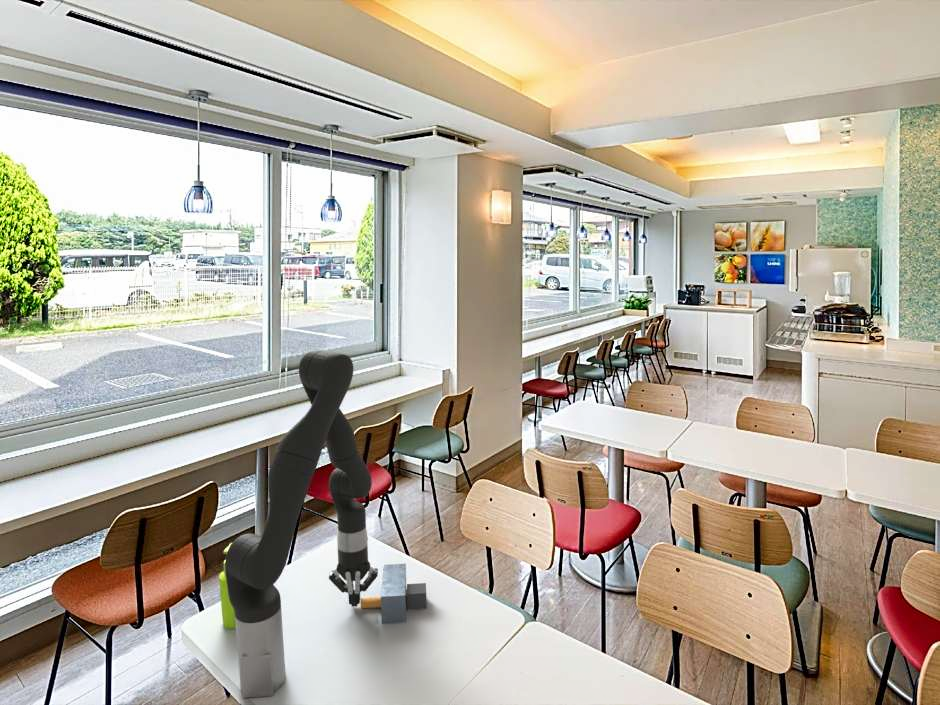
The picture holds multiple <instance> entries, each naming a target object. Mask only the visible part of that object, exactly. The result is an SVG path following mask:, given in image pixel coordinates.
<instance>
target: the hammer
mask: <svg viewBox="0 0 940 705" xmlns="http://www.w3.org/2000/svg"><path fill="white" fill-rule="evenodd" d="M371 608H372V609H373V608H381V596H379V597H378V596H377V597H365V598H364V597H363V598H362V597H360V609H371ZM413 609H414V610H425V609H428V607H427V583H425V582H422V583H421V582H420V583H406V611H410V610H411V611H412V610H413Z"/></svg>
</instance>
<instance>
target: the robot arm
mask: <svg viewBox="0 0 940 705" xmlns="http://www.w3.org/2000/svg"><path fill="white" fill-rule="evenodd" d="M298 374H299V376H298V377H299V379H300V383H301V385H302V387H303V390H304V392H305V393H306V396H307V398H308V400H309V402H310V405H311V406H310V407H309V409H308V411H307V412H306V413H305V414H304V416H303V417H302V418H301V419H300V420H299V421H297V422H296V423H295V424H294V425H293V426H292V427H291V428H290V429H289V430H288V431H287V432H286V434H285V435H283V437H282V438H281V440H280V441H279V443H278V445H277V447H276V450H275V452H274V455H273V458H272V461H271V463H270V465H269V468H268V474H267V475H268V476H267V491H268V505H269V506H268V516H267V520H266V524H265V527H264V530H263V532H262V536H261V535H258V534H255V533H245V534H242V535H240V536H238V537H237V538H235V540H233V543H232V542H231V543H232V544H231V543H230V544H231V546H230V547H229V549H228V552H227V555H226V554H225V559H224V560H225V573H226V581H227V588H228V595H229V600H230V603H231V605H232V607H233V608H234V613H235V623H236V628H235V635H236V637H235V638H236V647H237V648H236V649H237V658H238V670H239V673H238V674H239V682H240V685H239V686H240V690H241V692H242V698H243V699H244V698H259V697H272V696H273V695H274V694H275V692H276V691H277V690H279V688H280V687H281V686H282V685H283V684H284V683H285V681H286V676H287V675H286V674H287V673H286V661H285V660H286V658H285V647H284V645H285V644H284V633H283V632H284V631H283V630H284V628H283V615H282V601H281V600H282V599H281V593H280V591H279V590H278V588H277V587H276V586H275V583H276V582H277V581H278V579H279V578H280V577H281V575H282V573H283V572H284V569H285V566H286V565H287V564H286V563H287V561H288V558H289V554H290V551H291V546H292V542H293V539H294V534H295V532H296V531H295V530H296V526H297V522H298V519H299V516H300V513H301V510H302V508H303V505H304V501H305V498H306V496H307V494H308V493H307V492H308V489H309V487H310V486H311V482H312V479H313V477H314V474H315V472H316V469H317V467H318V464H319V461H320V457H321V453H322V450H323V448H324V445H325V446H326V450H327V453H328V458H329V461H330V464H331V465H332V466H333V467H334V468H335V469H334V470H333V471H332V472H331V474H330V476H329V480H328V488H329V489H328V490H329V494H330V497H331V501H332V502H333V506H334V508H335V511H336V513H337V517H336V518H337V534H336V536H337V537H336V538H337V540H336V541H337V562H338V563H337V565H336V569H333V570H331V571H330V572H329V574H328V580H329V581H330V582H331V583H332V584H333V585H334V586H335V587H336V588H337V589H338V590H339V591H340V592H341V593H344V594H345V593H347V594H348V604H349V605H351V608H355V607H358V606H359V605H360V604H361V592H366V591H367V590H368V589H369V587H370V586H371V585H372V584H373V582H374V581H375V580H376V578H377V577H378V574H379V568H377V567H372V566H371V563H370V561H369V549H368V548H369V546H368V545H369V544H368V540H369V537H368V530H367V523H366V522H367V521H366V520H367V518H366V508H365V505H363V504H362V503H361V502H359V501H357V500H362V499H364V498H365V497H368V495H369V493H370V492H371V491H372V490H371V489H372V485H373V482H372V481H373V480H372V475H371V473H370V470H369V468H368V467H367V465H366V463H365V461H364V459H363V458H362V455H361V454H360V452H359V448H358V444H357V440H356V436H355V432H354V429H353V428H352V425H351V423H350V421H349V420H348V419H347V417H346V416H345V415H344V413H343V411H342V410H341V408H340V407H341V406H342V403H343V401H344V399H345V397H346V395H347V393H348V391H349V388H350V385H351V384H352V380H353V375H354V363H353V360H352V358H351V357H350V356H349V355H348V354H344V353H341V352H335V351H330V350H323V349H322V350H321V349H312V350H309V351H307V352H305V353H304V354H303V355H302V358H301V359H300V361H299V363H298ZM356 499H357V500H356ZM367 574H368V575H367ZM366 575H367V577H366ZM340 576H341V577H340ZM365 577H366V578H365ZM364 578H365V580H364V581H363V582H362V581H361V580H363V579H364ZM354 582H355V583H354ZM361 582H362V583H361Z"/></svg>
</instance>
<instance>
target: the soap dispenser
mask: <svg viewBox="0 0 940 705" xmlns="http://www.w3.org/2000/svg"><path fill="white" fill-rule="evenodd" d="M233 542H234V541H233ZM233 542H230V543H229V545H228V546H227V547H225V549H224V550H223V552H222V554H225V556H226V555H227V552H228V549H229V547H230V546H231V544H232V543H233ZM225 560H226V559H224V560H223V571H222V572H220V574H219V575H218V580H219V594H220V605H221V616H222V617H221V618H222V626H223V625H224V626H223V627H224V628H225V627H226V629H232V628H234V629H236V623H235V613H234V608H233V607H232V605H231V603H230V600H229V595H228V588H227V581H226V573H225ZM232 630H233V629H232Z"/></svg>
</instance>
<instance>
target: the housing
mask: <svg viewBox="0 0 940 705" xmlns="http://www.w3.org/2000/svg"><path fill="white" fill-rule="evenodd" d="M382 568H383V569H382V581H381V591H380V597H381V607H380V610H381V612H380V616H381V624H382V625H387V624H400V623H407V606H406V596H407V563H391V564H383V567H382Z"/></svg>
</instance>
